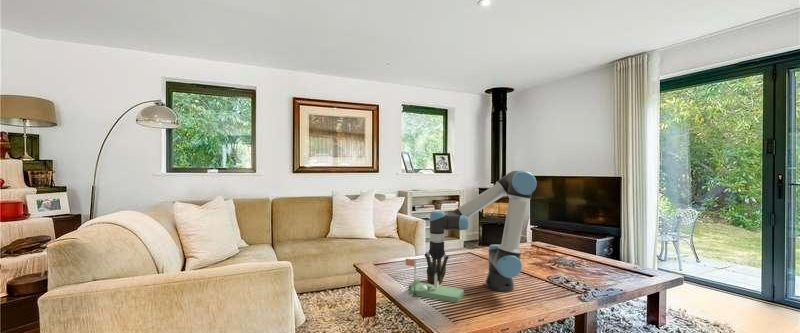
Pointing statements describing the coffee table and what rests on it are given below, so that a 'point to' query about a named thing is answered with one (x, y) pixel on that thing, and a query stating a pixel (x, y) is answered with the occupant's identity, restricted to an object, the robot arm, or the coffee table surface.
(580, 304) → the coffee table surface
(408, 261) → the flag pin
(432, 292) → the mat
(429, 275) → the ribbed round cactus
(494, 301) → the coffee table surface
